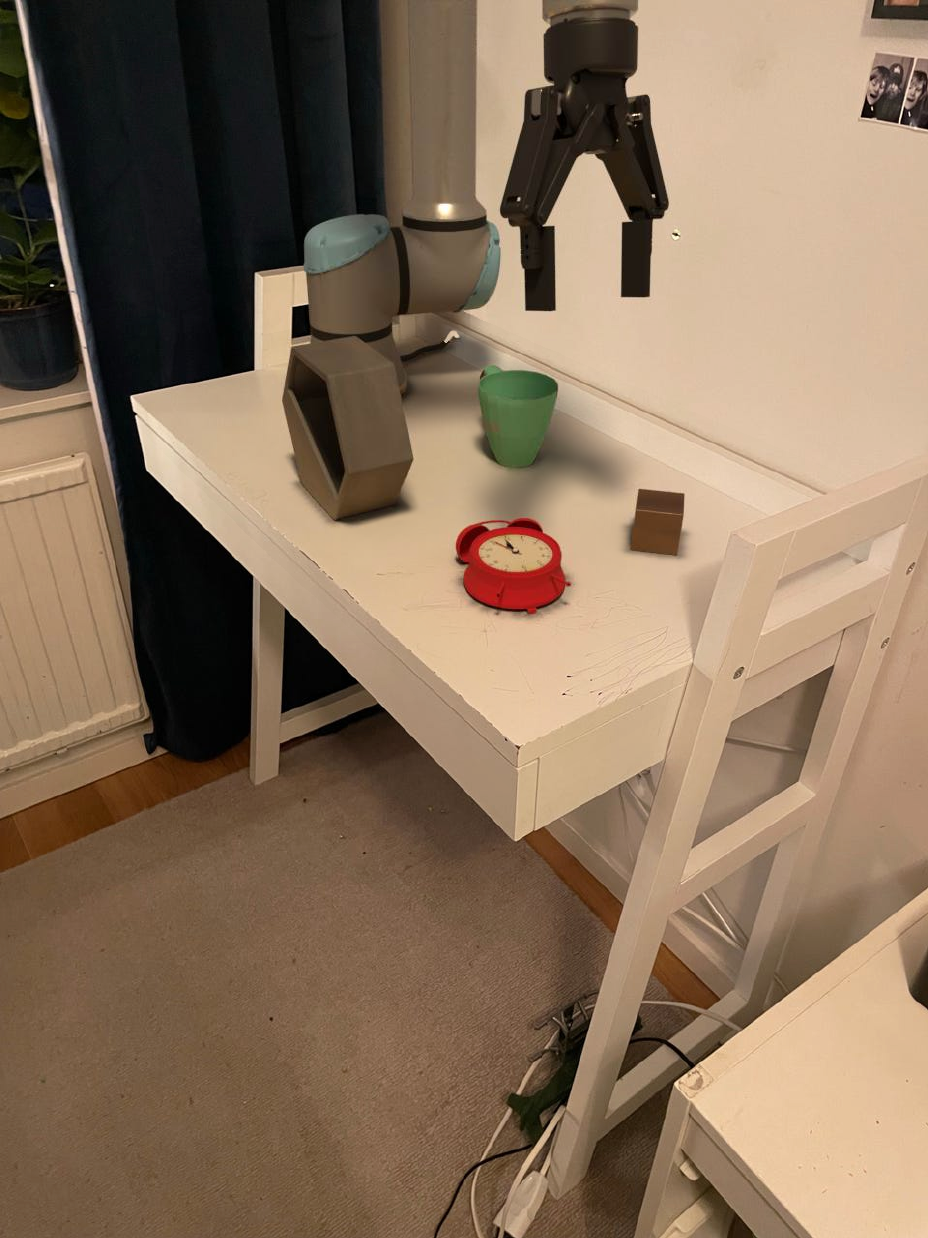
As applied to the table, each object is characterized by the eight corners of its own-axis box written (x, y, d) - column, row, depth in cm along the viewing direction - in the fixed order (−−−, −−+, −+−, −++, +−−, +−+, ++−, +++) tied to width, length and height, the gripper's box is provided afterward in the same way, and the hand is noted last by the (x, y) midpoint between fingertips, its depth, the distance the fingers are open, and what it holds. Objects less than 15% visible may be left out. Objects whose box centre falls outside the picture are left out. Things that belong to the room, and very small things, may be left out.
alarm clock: (484, 594, 88) (444, 491, 97) (479, 638, 92) (441, 536, 102) (587, 578, 90) (538, 479, 99) (577, 621, 95) (531, 523, 104)
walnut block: (633, 527, 105) (638, 488, 103) (678, 532, 105) (684, 492, 102) (630, 550, 101) (635, 509, 99) (677, 555, 101) (683, 514, 98)
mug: (566, 469, 117) (572, 393, 112) (495, 482, 114) (497, 404, 108) (517, 424, 128) (520, 353, 123) (451, 435, 125) (451, 362, 120)
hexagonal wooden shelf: (276, 426, 116) (297, 311, 97) (334, 414, 119) (364, 301, 101) (326, 543, 111) (357, 445, 93) (385, 527, 114) (426, 429, 96)
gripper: (522, -7, 64) (529, 318, 72) (715, 30, 80) (703, 292, 88) (445, 14, 69) (460, 316, 77) (641, 45, 85) (637, 291, 93)
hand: (590, 303), depth 83 cm, fingers open, 13 cm apart
